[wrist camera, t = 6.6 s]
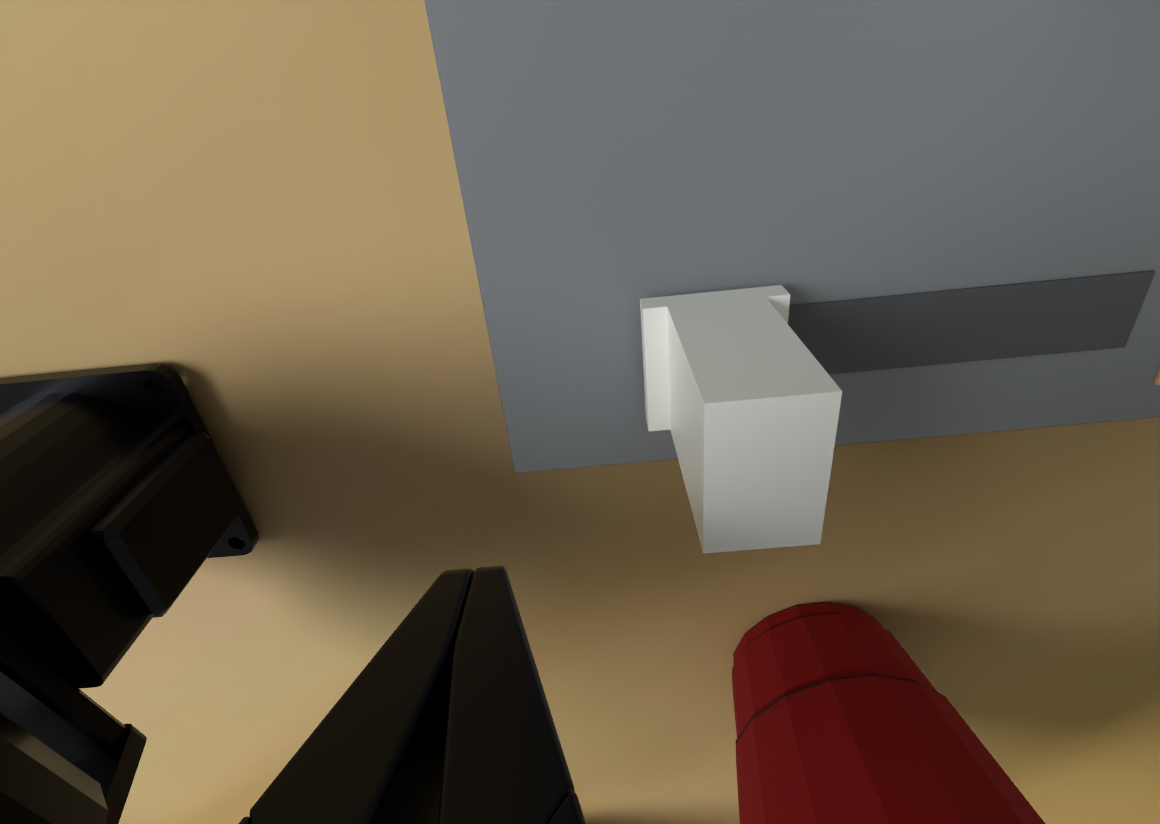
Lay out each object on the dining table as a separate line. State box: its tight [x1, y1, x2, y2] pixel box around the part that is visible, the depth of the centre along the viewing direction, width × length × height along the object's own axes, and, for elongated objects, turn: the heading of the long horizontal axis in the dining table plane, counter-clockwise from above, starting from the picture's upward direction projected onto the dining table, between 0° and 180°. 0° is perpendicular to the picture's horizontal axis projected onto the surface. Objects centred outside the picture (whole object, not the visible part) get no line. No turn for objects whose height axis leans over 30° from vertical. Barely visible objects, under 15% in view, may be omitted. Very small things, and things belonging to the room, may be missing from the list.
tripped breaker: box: [640, 285, 842, 554], centre depth 11 cm, size 3×3×5 cm
